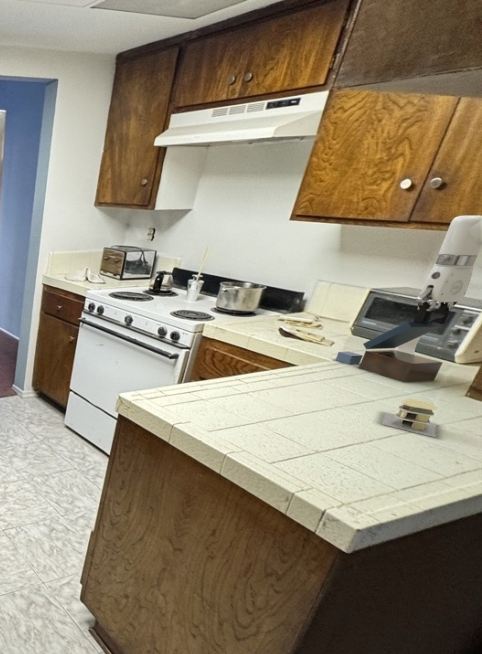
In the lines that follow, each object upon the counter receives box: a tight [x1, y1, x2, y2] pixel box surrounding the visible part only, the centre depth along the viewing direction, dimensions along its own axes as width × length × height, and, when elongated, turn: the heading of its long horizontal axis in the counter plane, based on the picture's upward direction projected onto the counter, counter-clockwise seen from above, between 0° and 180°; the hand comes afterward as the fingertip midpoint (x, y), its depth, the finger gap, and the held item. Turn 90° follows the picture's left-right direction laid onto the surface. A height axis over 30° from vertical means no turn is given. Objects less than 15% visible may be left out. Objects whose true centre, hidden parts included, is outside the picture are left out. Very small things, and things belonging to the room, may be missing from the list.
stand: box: [358, 349, 443, 383], centre depth 148 cm, size 13×11×6 cm
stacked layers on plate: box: [381, 398, 437, 438], centre depth 113 cm, size 10×9×6 cm
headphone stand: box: [395, 335, 423, 355], centre depth 161 cm, size 5×6×12 cm
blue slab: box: [362, 312, 445, 350], centre depth 146 cm, size 17×11×3 cm
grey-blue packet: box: [335, 351, 364, 365], centre depth 160 cm, size 3×4×4 cm
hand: (428, 322), depth 140 cm, fingers closed on blue slab, 5 cm apart
